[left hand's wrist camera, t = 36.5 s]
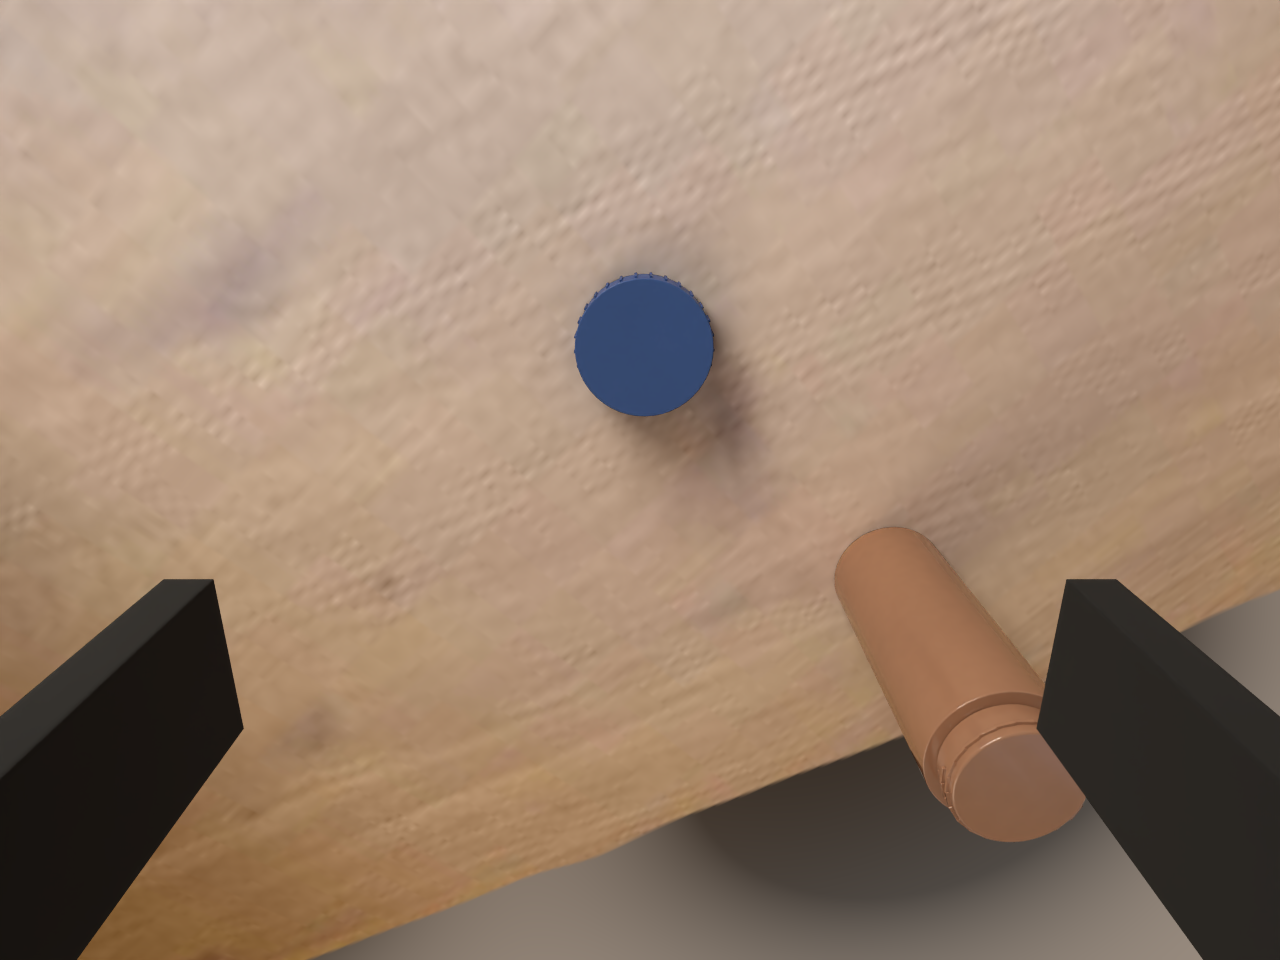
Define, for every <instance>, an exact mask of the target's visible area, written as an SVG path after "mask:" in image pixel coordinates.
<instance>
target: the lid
mask: <svg viewBox="0 0 1280 960" xmlns="http://www.w3.org/2000/svg"><path fill="white" fill-rule="evenodd" d="M703 308H704V307H703V305H702V303H701V302H698V301H697V300H696V298H695V297H694V295H693V293H692V291H690V292H689V291H688V290H687V289H686V288H684V287H683V286H681V283H680V282H678V283H677V282H675V281H673V280H671V279H668V278H667V276H664V277H662V276H658V275H653V274H652V273H650V274H637V273H635V275H631V276H626V277H622V276H621V277H620V279H618V280H616V281H614V282H612V283H610V284H609V283H607V284H606V287H604V288H603V289H602V290H600V291H599V292H598V293H597V292H596V293H595V294H594V298H593V299H592V300H591V301H590V303H589V304H586V306H585V308H584V310H585V311H584V314H583V316H582V317H580V318H579V320H578V324H579V326H578V329H577V331H576V334H575V336H574V338H576V339H575V350H574V353H575V355H576V362H577V368H578V369H579V372H580V374H581V377H582V379H583V381H584V382H585V384H586V385H587V387H588V388H589V390H590V391H591V392H592V393H593V394H594V395H595V396H596V397H597V398H598V399H599V400H600V401H601V402H603V403H604V404H606V405H607V406H609V407H610V408H612V409H614V410H617V411H619V412H622V413H625V414H629V415H634V416H654V415H659V414H663V413H666V412H669V411H672V410H674V409H676V408H678V407H680V406H681V405H683V404H684V403H686V402H687V401H688V400H689V399H690V398H692V397H693V396H694V395H695V394H696V392H697V391H698V390H699V389H700V387H701V386H702V384H703V383H704V381H705V380H706V377H707V375H708V373H709V370H710V367H711V366H712V359H713V352H714V346H713V337H714V334H713V332H712V330H711V327H710V324H709V322H710V319H709V317H708V315H705V313H704V311H703Z"/></svg>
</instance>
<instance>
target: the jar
mask: <svg viewBox="0 0 1280 960" xmlns="http://www.w3.org/2000/svg"><path fill="white" fill-rule="evenodd" d="M835 589H836V593H837V596H838V598H839V600H840V602H841V604H842V607H843V609H844V611H845V613H846V615H847V617H848V619H849V621H850V623H851V626H852V628H853V630H854V632H855V634H856V636H857V638H858V640H859V642H860V644H861V647H862V649H863V651H864V653H865V655H866V657H867V659H868V661H869V663H870V666H871V668H872V670H873V672H874V674H875V676H876V678H877V680H878V682H879V685H880V687H881V689H882V691H883V693H884V695H885V697H886V699H887V701H888V704H889V706H890V708H891V710H892V712H893V714H894V716H895V718H896V720H897V722H898V725H899V727H900V729H901V731H902V733H903V735H904V737H905V739H906V741H907V744H908V746H909V748H910V750H911V752H912V754H913V756H914V758H915V760H916V763H917V765H918V767H919V769H920V771H921V773H922V775H923V777H924V779H925V781H926V784H927V785H928V787H929V789H930V791H931V792H932V794H933V795H934V796H935V797H936V798H937V799H938V800H939V801H940V802H941V803H942V804H944V805H945V806H946V807H948V808H949V809H950V810H951V812H952V814H953V815H954V817H955V818H956V820H957V821H958V822H959V823H960V824H962V825H963V826H964V827H965V828H967V829H968V830H969V831H970V832H972V833H975V834H977V835H980V836H981V837H984V838H986V839H990V840H995V841H1000V842H1021V841H1027V840H1032V839H1036V838H1039V837H1042V836H1044V835H1047V834H1049V833H1051V832H1053V831H1055V830H1057V829H1059V828H1060V827H1061V826H1063V825H1064V824H1065V823H1066V822H1068V821H1069V820H1072V819H1073V818H1074V816H1075V815H1076V814H1077V813H1078V812H1079V810H1080V809H1081V808H1082V807H1083V803H1084V801H1085V799H1086V797H1085V795H1084V794H1083V792H1082V791H1081V790H1080V788H1079V787H1078V786H1077V784H1076V783H1075V781H1074V780H1073V779H1072V777H1071V776H1070V774H1069V773H1068V772H1067V770H1066V769H1065V768H1064V766H1063V765H1062V763H1061V762H1060V761H1059V759H1058V758H1057V756H1056V755H1055V754H1054V752H1053V751H1052V750H1051V748H1050V747H1049V745H1048V744H1047V743H1046V741H1045V740H1044V738H1043V737H1042V736H1041V734H1040V733H1039V732H1038V730H1037V729H1036V728H1037V723H1038V718H1039V713H1040V708H1041V703H1042V698H1043V693H1044V688H1045V683H1044V682H1043V681H1042V679H1041V678H1040V677H1039V676H1038V674H1037V673H1036V672H1035V671H1034V669H1033V668H1032V667H1031V666H1030V664H1029V663H1028V662H1027V661H1026V659H1025V658H1024V657H1023V656H1022V654H1021V653H1020V652H1019V651H1018V649H1017V648H1016V647H1015V646H1014V645H1013V643H1012V642H1011V641H1010V640H1009V638H1008V637H1007V636H1006V635H1005V633H1004V632H1003V631H1002V630H1001V628H1000V627H999V626H998V625H997V623H996V622H995V621H994V620H993V618H992V617H991V616H990V615H989V613H988V612H987V611H986V610H985V608H984V607H983V606H982V605H981V603H980V602H979V601H978V600H977V598H976V597H975V596H974V595H973V593H972V592H971V591H970V590H969V589H968V587H967V586H966V585H965V584H964V582H963V581H962V580H961V579H960V577H959V576H958V575H957V574H956V572H955V571H954V570H953V569H952V567H951V566H950V565H949V564H948V562H947V561H946V560H945V559H944V557H943V556H942V555H941V554H940V552H939V551H938V550H937V549H936V547H935V546H934V545H933V544H932V543H931V542H930V541H929V540H928V539H927V538H926V537H925V536H923V535H921V534H920V533H918V532H915V531H913V530H910V529H906V528H899V527H889V528H882V529H877V530H874V531H872V532H869V533H867V534H865V535H863V536H861V537H860V538H858V539H857V540H856V541H854V542H853V543H852V544H851V545H850V546H849V547H848V548H847V549H846V551H845V552H844V553H843V555H842V556H841V558H840V560H839V562H838V565H837V568H836V571H835Z"/></svg>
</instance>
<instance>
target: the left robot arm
mask: <svg viewBox="0 0 1280 960" xmlns="http://www.w3.org/2000/svg"><path fill="white" fill-rule="evenodd" d="M243 729H244V728H243V723H242V718H241V713H240V708H239V703H238V698H237V693H236V688H235V683H234V678H233V673H232V668H231V664H230V659H229V654H228V649H227V644H226V639H225V634H224V629H223V624H222V619H221V614H220V609H219V604H218V599H217V594H216V589H215V584H214V580H213V579H164V580H162V581H161V582H160V583H159V584H158V585H156V586H155V587H154V588H153V589H152V590H150V591H149V592H148V593H147V594H146V595H144V596H143V597H142V598H141V599H140V600H139V601H137V602H136V603H135V604H134V605H133V606H131V607H130V608H129V609H128V610H127V611H125V612H124V613H123V614H122V615H121V616H119V617H118V618H117V619H116V620H115V621H113V622H112V623H111V624H110V625H109V626H108V627H106V628H105V629H104V630H103V631H102V632H100V633H99V634H98V635H97V636H96V637H94V638H93V639H92V640H91V641H90V642H88V643H87V644H86V645H85V646H84V647H83V648H81V649H80V650H79V651H78V652H77V653H75V654H74V655H73V656H72V657H71V658H69V659H68V660H67V661H66V662H65V663H63V664H62V665H61V666H60V667H59V668H57V669H56V670H55V671H54V672H53V673H52V674H50V675H49V676H48V677H47V678H46V679H44V680H43V681H42V682H41V683H40V684H38V685H37V686H36V687H35V688H34V689H32V690H31V691H30V692H29V693H28V694H26V695H25V696H24V697H23V698H22V699H21V700H19V701H18V702H17V703H16V704H15V705H13V706H12V707H11V708H10V709H9V710H7V711H6V712H5V713H4V714H3V715H1V716H0V960H77V959H78V957H79V956H80V955H81V953H82V952H83V950H84V949H85V948H86V946H87V945H88V943H89V942H90V941H91V939H92V938H93V937H94V935H95V934H96V932H97V931H98V930H99V928H100V927H101V925H102V924H103V923H104V921H105V920H106V919H107V917H108V916H109V914H110V913H111V912H112V910H113V909H114V907H115V906H116V905H117V903H118V902H119V901H120V899H121V898H122V896H123V895H124V894H125V892H126V891H127V889H128V888H129V887H130V885H131V884H132V883H133V881H134V880H135V878H136V877H137V876H138V874H139V873H140V871H141V870H142V869H143V867H144V866H145V865H146V863H147V862H148V860H149V859H150V858H151V856H152V855H153V853H154V852H155V851H156V849H157V848H158V847H159V845H160V844H161V842H162V841H163V840H164V838H165V837H166V835H167V834H168V833H169V831H170V830H171V828H172V827H173V826H174V824H175V823H176V822H177V820H178V819H179V817H180V816H181V815H182V813H183V812H184V810H185V809H186V808H187V806H188V805H189V804H190V802H191V801H192V799H193V798H194V797H195V795H196V794H197V792H198V791H199V790H200V788H201V787H202V786H203V784H204V783H205V781H206V780H207V779H208V777H209V776H210V774H211V773H212V772H213V770H214V769H215V768H216V766H217V765H218V763H219V762H220V761H221V759H222V758H223V756H224V755H225V754H226V752H227V751H228V750H229V748H230V747H231V745H232V744H233V743H234V741H235V740H236V738H237V737H238V736H239V734H240V733H241V732H242V730H243ZM1036 729H1037V730H1038V732H1039V733H1040V734H1041V736H1042V737H1043V738H1044V740H1045V741H1046V743H1047V744H1048V745H1049V747H1050V748H1051V750H1052V751H1053V752H1054V754H1055V755H1056V756H1057V758H1058V759H1059V761H1060V762H1061V763H1062V765H1063V766H1064V768H1065V769H1066V770H1067V772H1068V773H1069V774H1070V776H1071V777H1072V779H1073V780H1074V781H1075V783H1076V784H1077V786H1078V787H1079V788H1080V790H1081V791H1082V792H1083V794H1084V795H1085V797H1086V798H1087V799H1088V801H1089V802H1090V804H1091V805H1092V806H1093V808H1094V809H1095V810H1096V812H1097V813H1098V815H1099V816H1100V817H1101V819H1102V820H1103V822H1104V823H1105V824H1106V826H1107V827H1108V828H1109V830H1110V831H1111V833H1112V834H1113V835H1114V837H1115V838H1116V840H1117V841H1118V842H1119V844H1120V845H1121V847H1122V848H1123V849H1124V851H1125V852H1126V853H1127V855H1128V856H1129V858H1130V859H1131V860H1132V862H1133V863H1134V864H1135V866H1136V867H1137V869H1138V870H1139V871H1140V873H1141V874H1142V876H1143V877H1144V878H1145V880H1146V881H1147V883H1148V884H1149V885H1150V887H1151V888H1152V889H1153V891H1154V892H1155V894H1156V895H1157V896H1158V898H1159V899H1160V901H1161V902H1162V903H1163V905H1164V906H1165V907H1166V909H1167V910H1168V912H1169V913H1170V914H1171V916H1172V917H1173V919H1174V920H1175V921H1176V923H1177V924H1178V925H1179V927H1180V928H1181V930H1182V931H1183V932H1184V934H1185V935H1186V936H1187V938H1188V939H1189V941H1190V942H1191V943H1192V945H1193V946H1194V948H1195V949H1196V950H1197V952H1198V953H1199V955H1200V956H1201V957H1202V959H1203V960H1280V716H1279V715H1277V714H1276V713H1275V712H1274V711H1273V710H1271V709H1270V708H1269V707H1268V706H1267V705H1265V704H1264V703H1263V702H1262V701H1261V700H1259V699H1258V698H1257V697H1256V696H1255V695H1254V694H1252V693H1251V692H1250V691H1249V690H1248V689H1246V688H1245V687H1244V686H1243V685H1242V684H1240V683H1239V682H1238V681H1237V680H1236V679H1234V678H1233V677H1232V676H1231V675H1230V674H1228V673H1227V672H1226V671H1225V670H1224V669H1222V668H1221V667H1220V666H1219V665H1218V664H1216V663H1215V662H1214V661H1213V660H1212V659H1211V658H1209V657H1208V656H1207V655H1206V654H1205V653H1203V652H1202V651H1201V650H1200V649H1199V648H1197V647H1196V646H1195V645H1194V644H1193V643H1191V642H1190V641H1189V640H1188V639H1187V638H1186V637H1184V636H1183V635H1182V634H1181V633H1180V632H1178V631H1177V630H1176V629H1175V628H1174V627H1172V626H1171V625H1170V624H1169V623H1168V622H1167V621H1165V620H1164V619H1163V618H1162V617H1161V616H1159V615H1158V614H1157V613H1156V612H1155V611H1153V610H1152V609H1151V608H1150V607H1149V606H1147V605H1146V604H1145V603H1144V602H1143V601H1141V600H1140V599H1139V598H1138V597H1137V596H1136V595H1134V594H1133V593H1132V592H1131V591H1130V590H1128V589H1127V588H1126V587H1125V586H1124V585H1122V584H1121V583H1120V582H1119V581H1118V580H1116V579H1067V580H1066V584H1065V589H1064V594H1063V599H1062V604H1061V609H1060V614H1059V619H1058V624H1057V629H1056V634H1055V639H1054V644H1053V649H1052V654H1051V659H1050V663H1049V668H1048V673H1047V678H1046V683H1045V688H1044V693H1043V698H1042V703H1041V708H1040V713H1039V718H1038V723H1037V728H1036Z"/></svg>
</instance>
